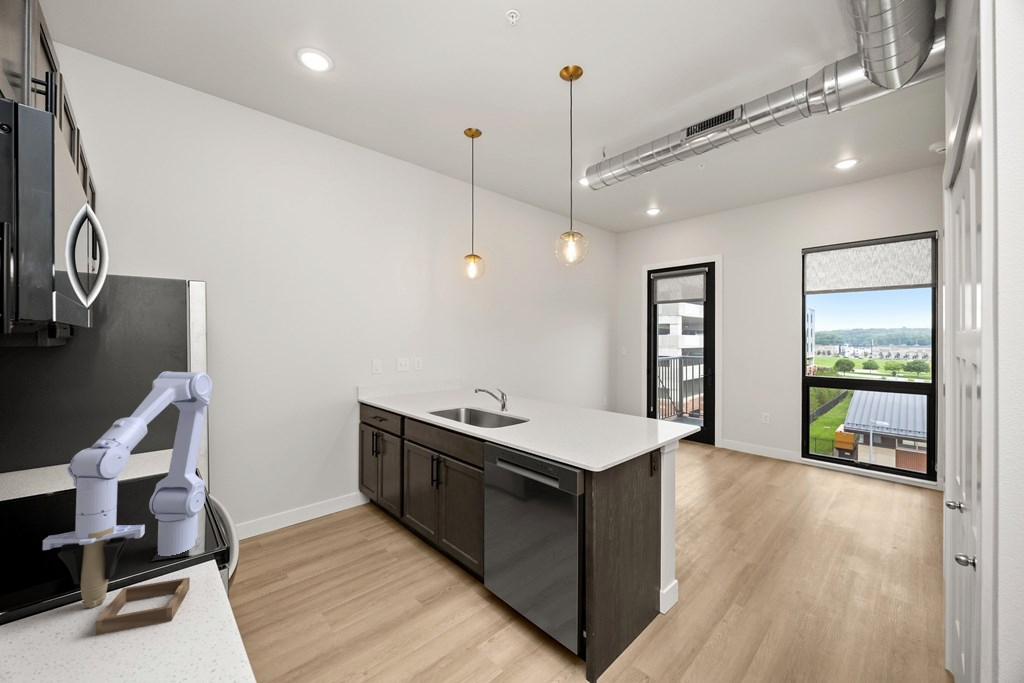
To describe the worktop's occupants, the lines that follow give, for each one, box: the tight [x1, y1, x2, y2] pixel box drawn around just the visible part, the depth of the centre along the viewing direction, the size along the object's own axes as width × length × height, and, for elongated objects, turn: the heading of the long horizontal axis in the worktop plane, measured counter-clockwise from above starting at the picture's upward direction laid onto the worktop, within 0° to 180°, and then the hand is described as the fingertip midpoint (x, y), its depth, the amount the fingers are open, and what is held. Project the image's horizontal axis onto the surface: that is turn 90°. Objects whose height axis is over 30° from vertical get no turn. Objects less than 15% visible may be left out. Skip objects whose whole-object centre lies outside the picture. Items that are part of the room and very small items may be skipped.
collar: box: [94, 577, 190, 637], centre depth 81 cm, size 11×11×3 cm
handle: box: [80, 526, 114, 609], centre depth 82 cm, size 5×6×15 cm
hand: (94, 579), depth 82 cm, fingers closed on handle, 4 cm apart
